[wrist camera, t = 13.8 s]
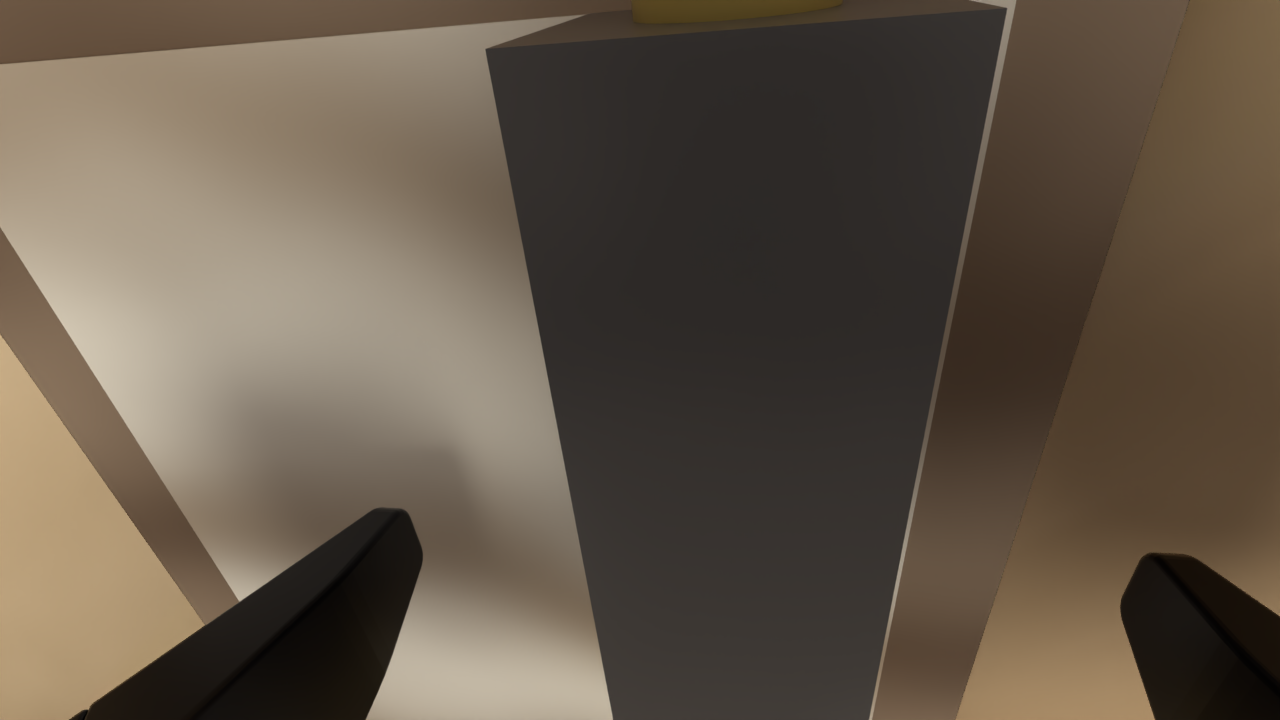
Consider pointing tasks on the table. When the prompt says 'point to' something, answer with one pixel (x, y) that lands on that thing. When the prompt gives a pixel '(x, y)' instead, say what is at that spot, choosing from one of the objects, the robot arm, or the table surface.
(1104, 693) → the table surface
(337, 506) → the writing board
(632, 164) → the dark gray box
